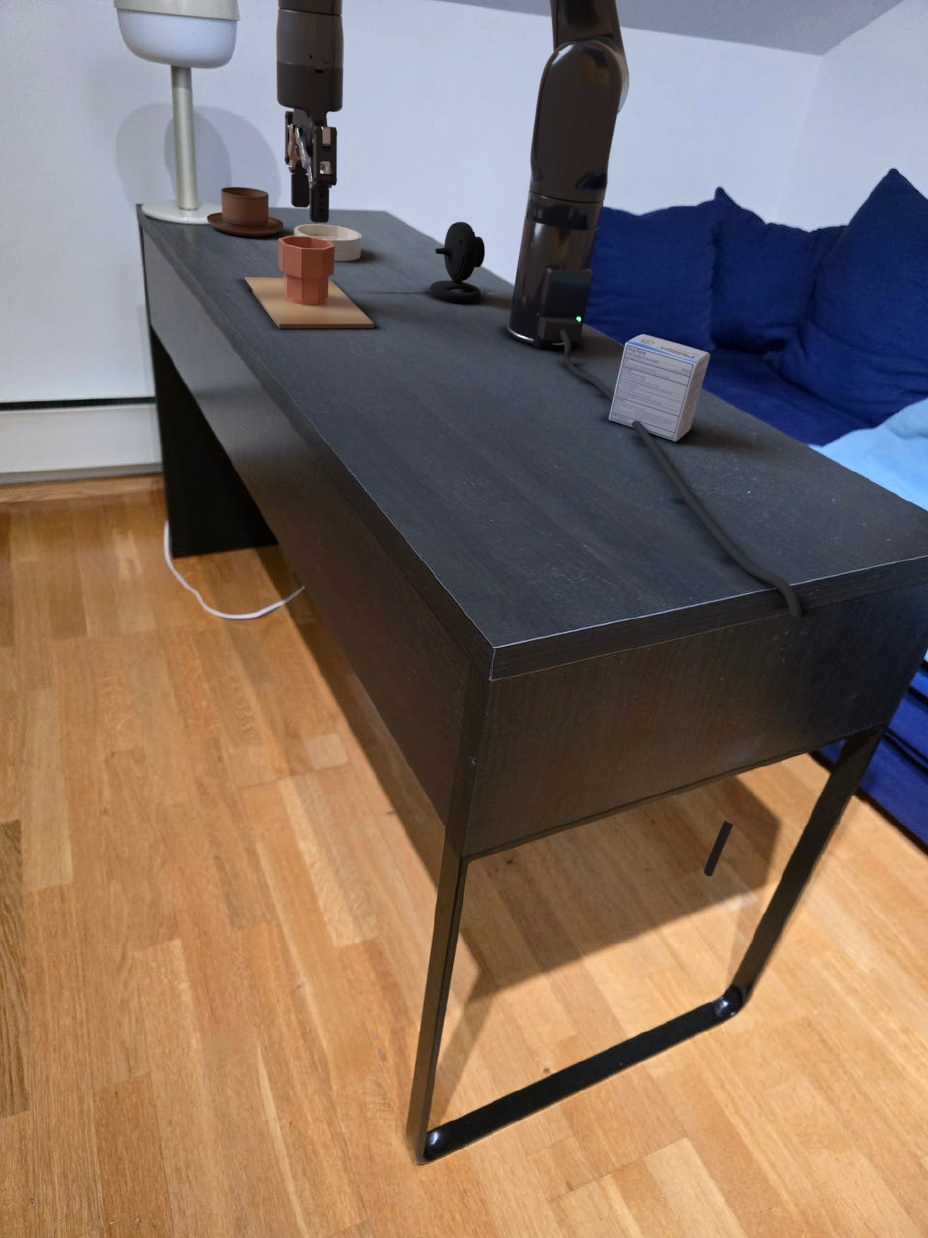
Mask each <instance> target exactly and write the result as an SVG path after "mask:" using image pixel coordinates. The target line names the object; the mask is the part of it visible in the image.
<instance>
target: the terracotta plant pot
mask: <svg viewBox="0 0 928 1238" xmlns="http://www.w3.org/2000/svg"><path fill="white" fill-rule="evenodd" d="M334 254H335V246H334V245H333V244H332V243H331V242H330V241H328V240H324V239H320V238H315V237H310V236H294V235H287V236H283V237H281V238H278V269H279V270H280V271H281V272H282V273H283V278H284V290H283V292H284V293H285V299H286V300H288V301H290V302H293V303H297V304H303V305H319V304H323V303H325V302H326V300H327V298H328V280H329V279H330V277H331V276H334V274H335V261H334Z"/></svg>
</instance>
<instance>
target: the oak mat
mask: <svg viewBox="0 0 928 1238" xmlns="http://www.w3.org/2000/svg"><path fill="white" fill-rule="evenodd" d="M244 279H245V281H246V282H247V284H248V285H249V286H250V291H251V292H252V294H253V295H254V296H255V297H256V299H257V301H259V304H260V305H261V306H262V307H263V309H264V310H265V311H266V313H267V314H268V316H270V318H271V319H272V320H273V322H274V324H275V325H276V326H277V327H278V329H281V330H282V329H374V328H375V323H374V322H373V321H372V320H371V318H369V317H368V316H367V315H366V314H365V312H363V311H362V309H361V308H359V306H357V305H356V304H355V302H353V301H352V300H351V298H350V297H349V296H347V295H346V293H345V292H344V291H342V290H341V289H340V287H339V286H337V284H336V283H334V281H332V279H331V278H329V280H328V298H327V300H326V302H325V303H323V304H319V305H303V304H297V303H293V302H290V301H288V300H286V299H285V293H284V292H283V290H284V277H262V276H261V277H259V276H257V277H256V276H254V277H253V276H245V277H244Z"/></svg>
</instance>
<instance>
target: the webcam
mask: <svg viewBox="0 0 928 1238" xmlns="http://www.w3.org/2000/svg"><path fill="white" fill-rule="evenodd" d="M435 254H436V255H443V261H444V266H445V269H446V272H447V274H448V276H449V277H450V279H451V280H437V281H434V282H432V283H431V285H430V286H429V293H430V294H431V296H433V297H435V298H437V299H440V300H442V301H445V302H449V303H456V304H471V303H476V302H478V301H479V300H480V299H481V298H482V292H481V289H480V288H478V287H477V286H476V285H473V284H471V283H469V282H465V281H467V280H468V279H469V278H470V277H471V276H472V274H473V273H474V270H475V268H480V267H481V266H483V263H484V261H485V257H486V256H485V255H486V246H485V242H484V239H483V238H482V236H477V235H476V233H475V231H474V229H473V227H472V226H471V225H470V224H469V223H467V222H464V221H455V222H454V223H452V224H451V225H450V226H449V227H448V229H447V231H446V235H445V239H444V245H443V247H439V248H438V247H436V248H435ZM453 290H459V291H453Z"/></svg>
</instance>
